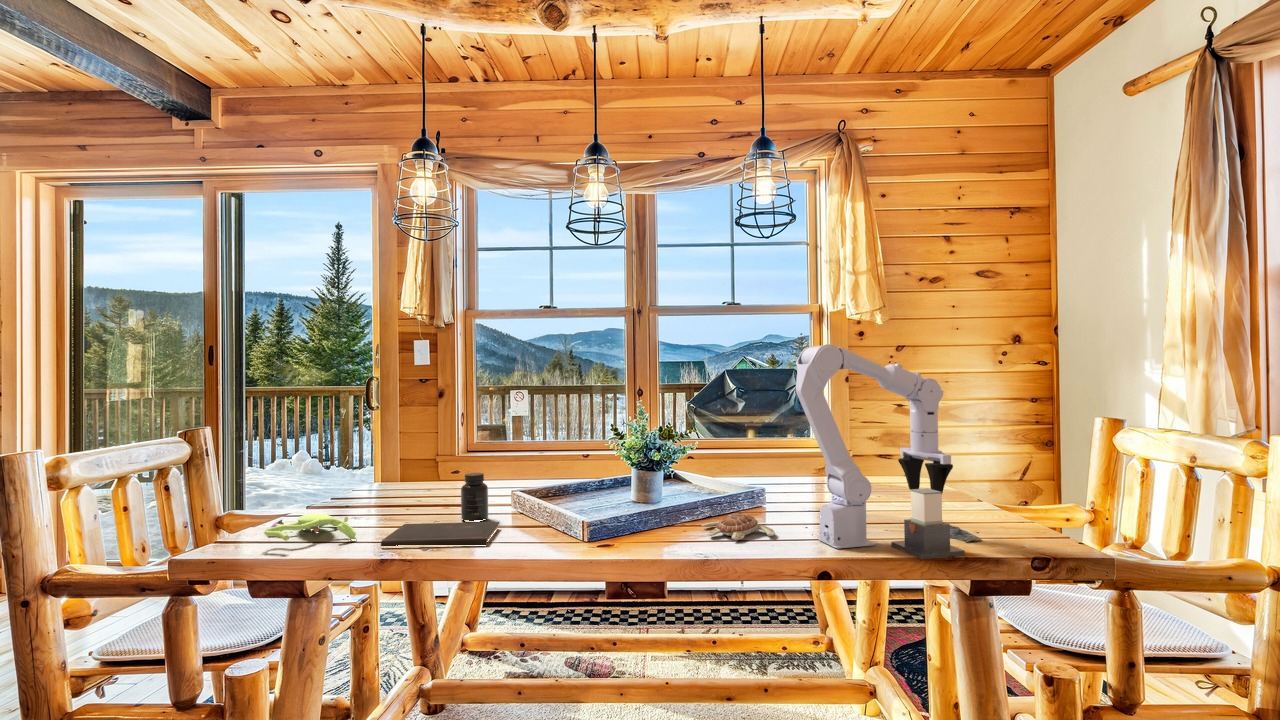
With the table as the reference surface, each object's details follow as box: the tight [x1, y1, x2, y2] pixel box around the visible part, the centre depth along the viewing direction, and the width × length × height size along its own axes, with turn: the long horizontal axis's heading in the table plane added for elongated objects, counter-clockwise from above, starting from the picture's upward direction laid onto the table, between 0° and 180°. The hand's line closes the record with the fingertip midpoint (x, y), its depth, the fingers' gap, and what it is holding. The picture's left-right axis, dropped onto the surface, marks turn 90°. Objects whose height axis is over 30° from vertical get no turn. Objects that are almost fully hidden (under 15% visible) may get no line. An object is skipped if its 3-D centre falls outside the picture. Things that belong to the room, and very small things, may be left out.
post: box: [910, 487, 944, 526], centre depth 135 cm, size 4×4×9 cm
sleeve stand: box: [890, 518, 966, 560], centre depth 135 cm, size 10×10×6 cm
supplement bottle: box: [460, 472, 489, 521], centre depth 168 cm, size 7×7×12 cm
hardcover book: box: [380, 521, 500, 547], centre depth 150 cm, size 16×23×2 cm
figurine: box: [263, 513, 357, 541], centre depth 152 cm, size 18×27×6 cm
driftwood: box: [946, 522, 983, 544], centre depth 151 cm, size 21×7×2 cm, turn 1°
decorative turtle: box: [701, 512, 776, 541], centre depth 151 cm, size 18×17×5 cm
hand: (925, 492), depth 144 cm, fingers open, 7 cm apart
